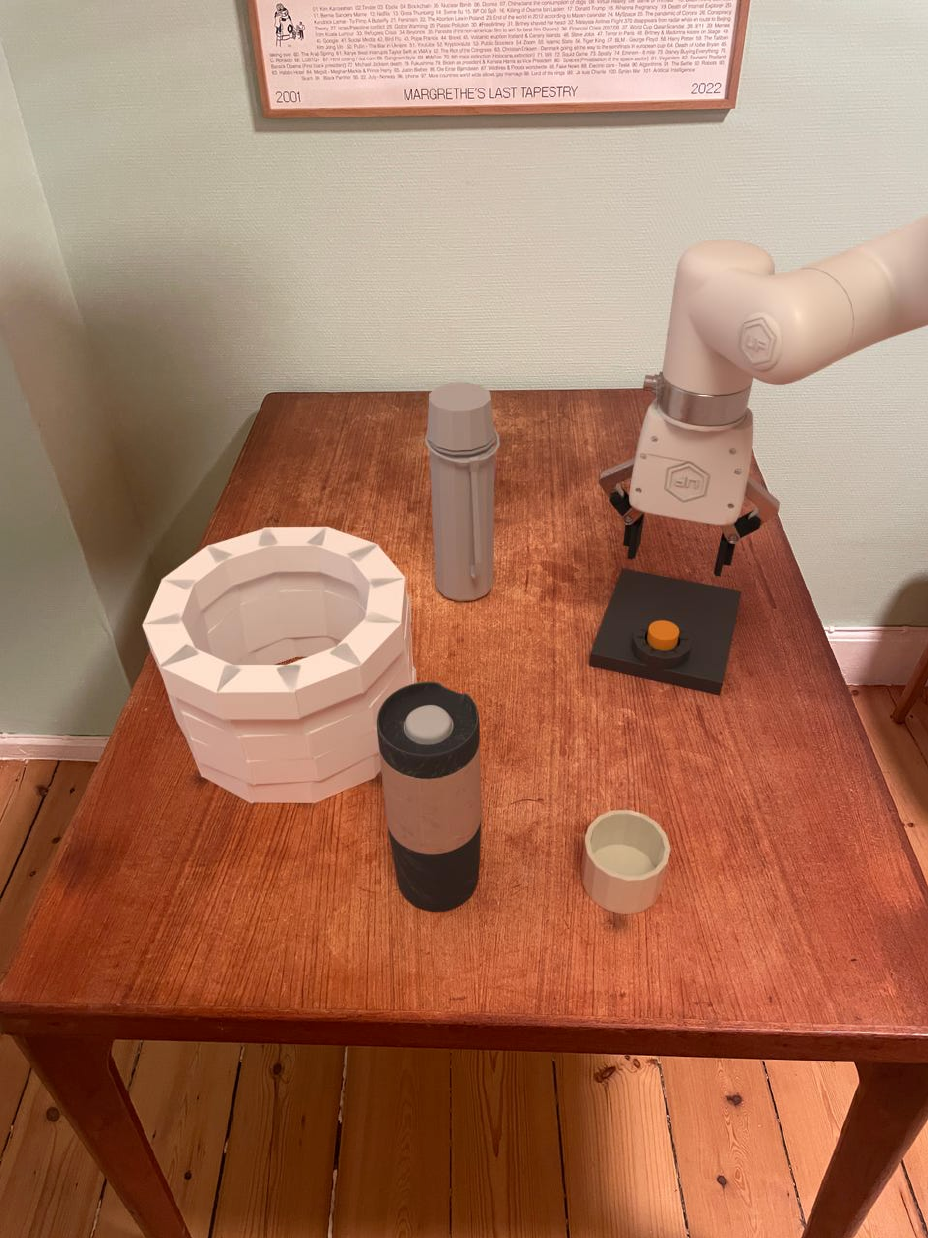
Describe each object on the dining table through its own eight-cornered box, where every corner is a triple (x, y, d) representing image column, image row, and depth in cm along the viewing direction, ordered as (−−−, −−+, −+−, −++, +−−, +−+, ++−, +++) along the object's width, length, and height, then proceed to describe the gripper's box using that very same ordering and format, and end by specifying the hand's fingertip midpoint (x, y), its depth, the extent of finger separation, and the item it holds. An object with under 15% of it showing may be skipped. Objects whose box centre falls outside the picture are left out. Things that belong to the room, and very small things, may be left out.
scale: (738, 603, 105) (744, 580, 102) (719, 696, 93) (725, 671, 91) (620, 580, 108) (623, 556, 106) (588, 666, 97) (591, 642, 95)
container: (413, 813, 82) (402, 689, 72) (159, 819, 82) (111, 696, 72) (419, 634, 101) (411, 515, 91) (212, 638, 101) (181, 521, 91)
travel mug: (404, 926, 74) (386, 767, 61) (385, 850, 79) (365, 691, 66) (493, 903, 75) (493, 743, 62) (468, 830, 81) (464, 671, 68)
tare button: (679, 634, 96) (681, 623, 95) (674, 653, 94) (676, 642, 93) (650, 628, 97) (651, 617, 96) (644, 647, 95) (645, 636, 94)
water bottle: (425, 575, 110) (414, 386, 94) (485, 562, 112) (485, 375, 95) (446, 621, 103) (438, 426, 87) (510, 607, 105) (514, 414, 89)
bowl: (668, 857, 78) (676, 822, 75) (653, 924, 73) (661, 890, 70) (591, 836, 80) (596, 800, 77) (572, 900, 75) (576, 865, 72)
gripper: (594, 400, 77) (580, 564, 88) (806, 431, 72) (762, 600, 83) (613, 364, 82) (598, 523, 93) (812, 391, 77) (770, 555, 89)
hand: (675, 559), depth 88 cm, fingers open, 7 cm apart
